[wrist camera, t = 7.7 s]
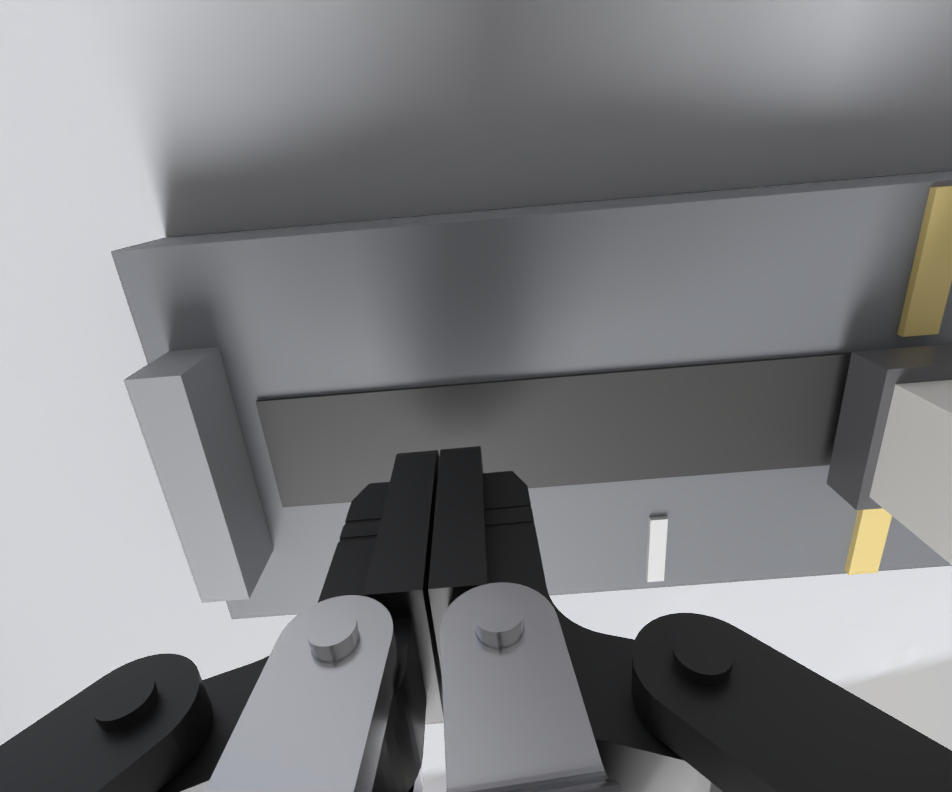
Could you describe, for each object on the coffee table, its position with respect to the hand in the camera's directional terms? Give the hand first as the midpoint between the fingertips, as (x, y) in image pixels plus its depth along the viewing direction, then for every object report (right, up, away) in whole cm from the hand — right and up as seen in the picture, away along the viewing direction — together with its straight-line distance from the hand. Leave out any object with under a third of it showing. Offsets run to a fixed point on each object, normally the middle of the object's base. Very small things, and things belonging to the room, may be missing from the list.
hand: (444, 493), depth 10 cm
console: (+5, +2, +4) cm, 6 cm away
